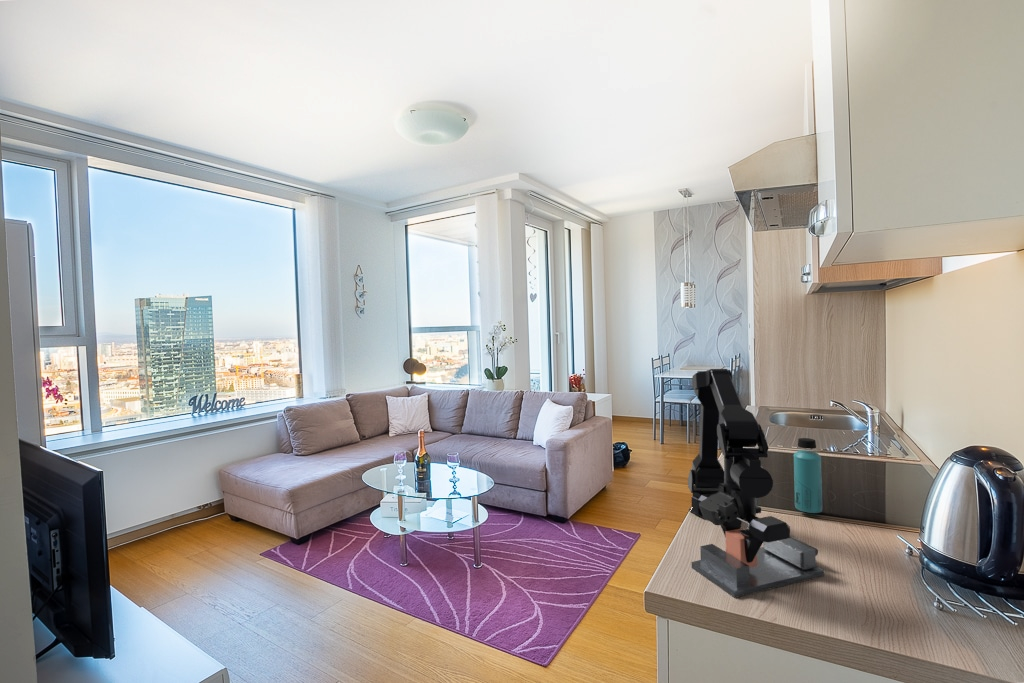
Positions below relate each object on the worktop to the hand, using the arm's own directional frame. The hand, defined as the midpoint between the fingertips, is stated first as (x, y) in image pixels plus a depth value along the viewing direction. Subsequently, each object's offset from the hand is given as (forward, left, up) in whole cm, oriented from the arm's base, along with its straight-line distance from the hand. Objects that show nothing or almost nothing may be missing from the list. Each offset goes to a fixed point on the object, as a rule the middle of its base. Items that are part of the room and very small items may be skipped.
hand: (741, 557), depth 96 cm
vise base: (-4, 0, -4) cm, 5 cm away
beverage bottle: (-39, -18, -4) cm, 43 cm away
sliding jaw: (-14, 0, -2) cm, 14 cm away
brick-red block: (0, 0, -1) cm, 1 cm away
